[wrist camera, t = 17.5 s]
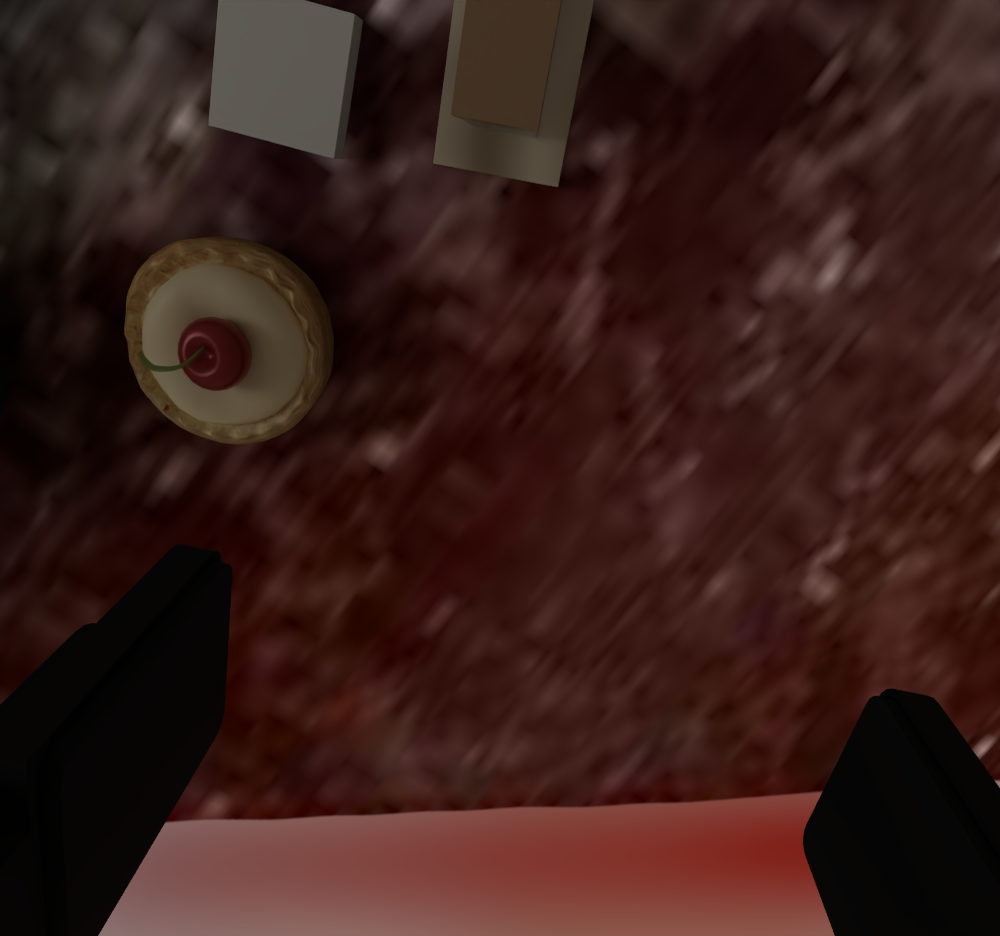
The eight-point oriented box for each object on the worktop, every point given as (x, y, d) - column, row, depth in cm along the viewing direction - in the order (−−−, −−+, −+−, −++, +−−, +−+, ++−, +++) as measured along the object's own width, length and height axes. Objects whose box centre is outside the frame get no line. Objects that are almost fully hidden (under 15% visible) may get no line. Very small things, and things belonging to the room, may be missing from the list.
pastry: (363, 406, 48) (330, 460, 39) (191, 428, 49) (124, 485, 40) (319, 215, 43) (271, 232, 35) (129, 243, 44) (39, 266, 36)
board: (610, -89, 36) (612, -97, 35) (557, 186, 41) (557, 187, 40) (472, -116, 36) (470, -125, 35) (436, 163, 41) (433, 163, 40)
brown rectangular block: (575, -59, 36) (583, -125, 28) (539, 139, 39) (537, 131, 31) (499, -74, 36) (485, -144, 28) (470, 125, 39) (450, 114, 31)
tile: (354, 14, 37) (220, -23, 37) (333, 158, 40) (208, 125, 40) (364, 21, 39) (237, -14, 39) (343, 159, 42) (224, 126, 41)
